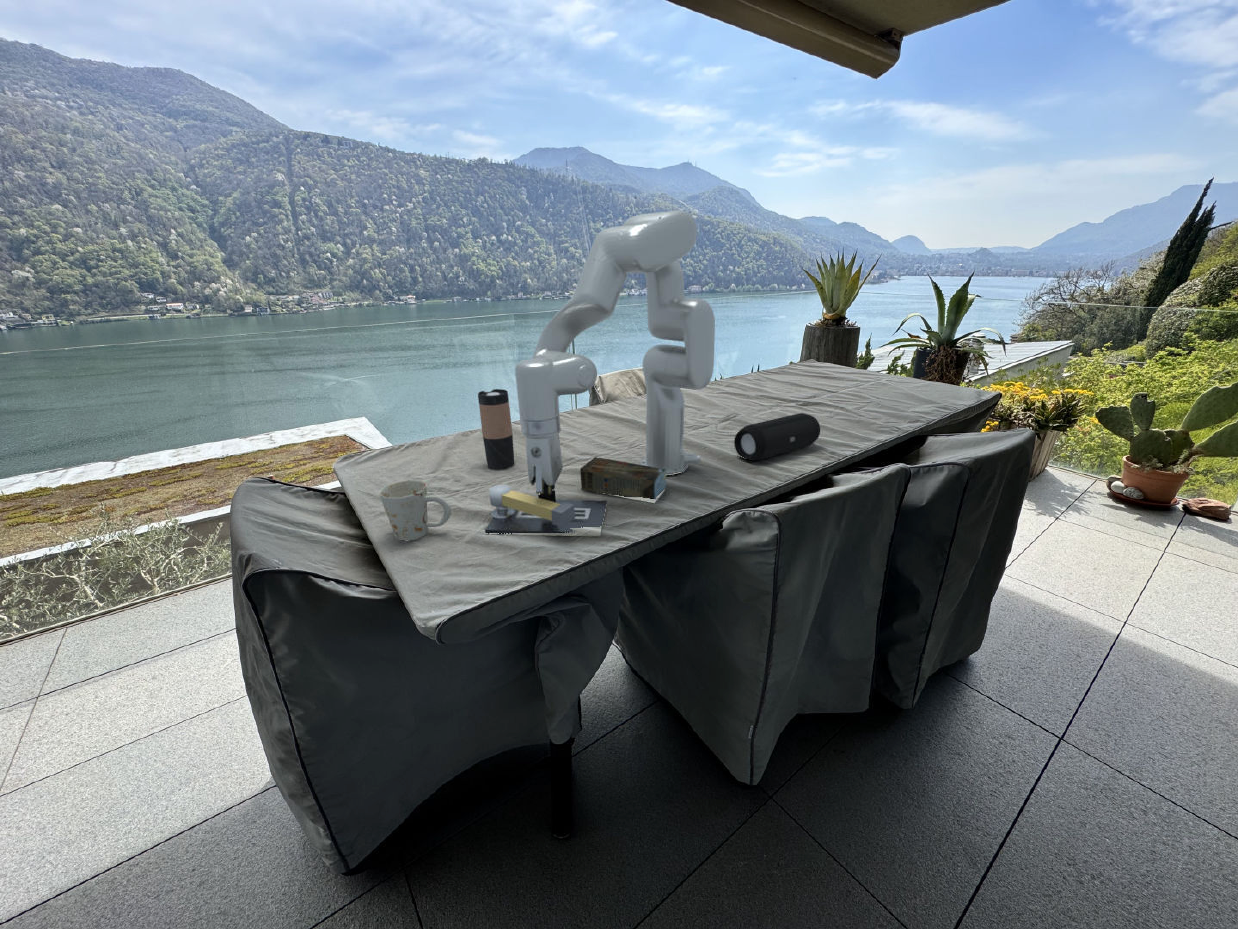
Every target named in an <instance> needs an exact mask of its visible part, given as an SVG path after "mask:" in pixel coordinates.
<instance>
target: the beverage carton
mask: <svg viewBox="0 0 1238 929" xmlns="http://www.w3.org/2000/svg"><path fill="white" fill-rule="evenodd" d="M580 486H581V490H582V491H585V492H590V491H592V492H591V493H596V492H598V493H597V494H601V493H605V494H604V495H606V494H611V495H619V496H624V497H643V498H650V499H656V497H657V496H658V495H659V494H660V493H661V492H662V491H663V490H664V489H665V488H666V489H667V476H666V469H662V468H655V467H650V466H645V465H640V463H633V462H626V461H621V460H615V459H609V458H604V457H603V458H602V457H597V456H596V457H595V456H594V457H593V458H592V459H591V460H590V461H587V463H586V464H584V465H583V466H581V467H580ZM611 495H610V496H611Z"/></svg>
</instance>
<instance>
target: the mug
mask: <svg viewBox="0 0 1238 929" xmlns="http://www.w3.org/2000/svg"><path fill="white" fill-rule="evenodd" d="M427 489H428V488H427V485H426V483H425V482H424V481H422V480H419V479H403V480H400V481H394V482H392V483H389V484H387V485H385V486H383V487H382V488H381V489H380V490H379V494H378V495H379V497H380V500H381V503H382V505H383V508H384V511H385V513H386V516H387V518H388V519H387V520H388V521H389V524H390V526H391V530H392V533H393V534H394V536H395V538H396V540H398V539H399V540H398V541H400V540H412V541H415V539H416V540H418V538H419V539H420V537H421V538H422V536H423V535H424V536H426V535H427V534H428V531H429V528H433V527H434V528H435V527H436V528H437V527H441V526H443V525H444V524H446V523H447V522H448V520H449V519H450V518H451V514H452V513H451V510H452V509H451V507H450V505H449V503H448V502H447V500H445V498H444V497H442V496H439V495H427V494H428V490H427ZM429 502H431V503H432V502H435V503H437V504H439V505H441V507H442V508H443V511H444V512H443V516H442V517H441V519H440V520H439V521H436V522H433V521H432V522H431V521H430V522H429V520H428V503H429ZM425 534H426V535H425ZM424 536H423V537H424Z"/></svg>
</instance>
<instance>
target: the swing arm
mask: <svg viewBox="0 0 1238 929" xmlns="http://www.w3.org/2000/svg"><path fill="white" fill-rule="evenodd" d="M488 493H489V501H490V505H491V506H493V507H495V508H496V507H502V506H506V507H509V508H512V509H515V510H519V511H522V512H525V513H528V514H531V515H535V516H538V517H541V518H544V519H548V520H551V521H552V524H553V525H556V526H560V527H564V526H565V525H566V524H568V523H569V522H571V521H572V520H574V519H575V511H574V505H573V504H570V503H566V502H563V503H562V504H559V503H555V502H552V501H548V500H545V499H541V498H538V496H533V495H529V494H526V493H523V492H519V491H517V490H516V491H515V490H513V489H512V488H511V486H510V485H508V484H497V485H493V486H491V487H489V489H488Z"/></svg>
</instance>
